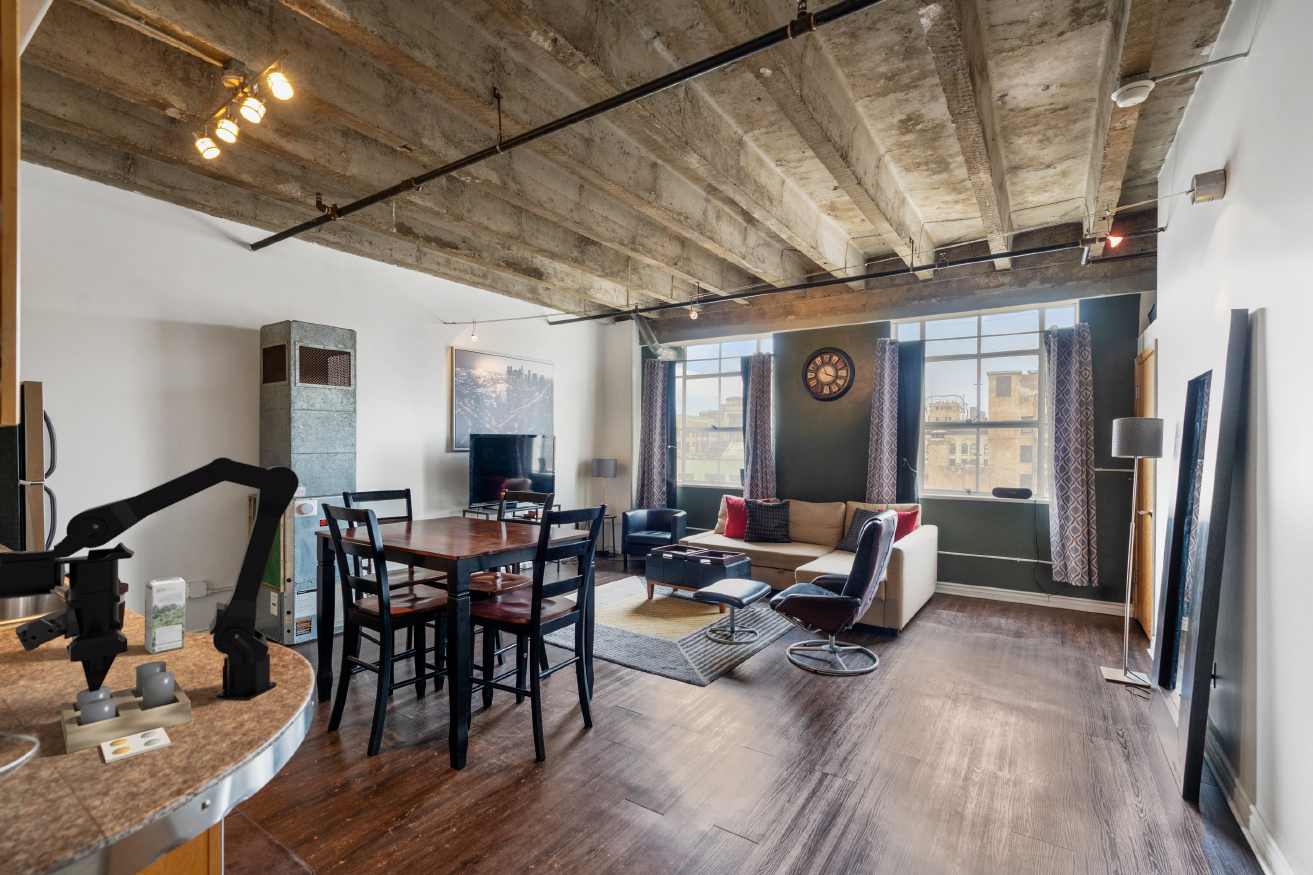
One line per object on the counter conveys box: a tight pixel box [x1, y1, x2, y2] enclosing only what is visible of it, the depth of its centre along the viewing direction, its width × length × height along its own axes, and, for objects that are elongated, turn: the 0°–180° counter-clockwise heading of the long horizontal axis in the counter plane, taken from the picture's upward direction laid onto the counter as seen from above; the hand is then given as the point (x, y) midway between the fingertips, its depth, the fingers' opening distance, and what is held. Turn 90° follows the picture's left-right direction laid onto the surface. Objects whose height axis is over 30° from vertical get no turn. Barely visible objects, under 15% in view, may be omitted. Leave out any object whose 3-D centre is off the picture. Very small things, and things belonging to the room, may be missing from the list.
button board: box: [60, 678, 192, 754], centre depth 97 cm, size 14×14×3 cm
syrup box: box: [144, 576, 187, 655], centre depth 132 cm, size 6×6×14 cm
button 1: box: [76, 685, 111, 711], centre depth 97 cm, size 4×4×4 cm
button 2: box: [81, 698, 115, 726], centre depth 92 cm, size 4×4×4 cm
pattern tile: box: [100, 727, 172, 764], centre depth 89 cm, size 7×7×1 cm
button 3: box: [135, 660, 167, 695], centre depth 102 cm, size 4×4×4 cm
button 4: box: [143, 671, 175, 708], centre depth 97 cm, size 4×4×4 cm
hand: (94, 690), depth 97 cm, fingers closed, pressing on button 1
